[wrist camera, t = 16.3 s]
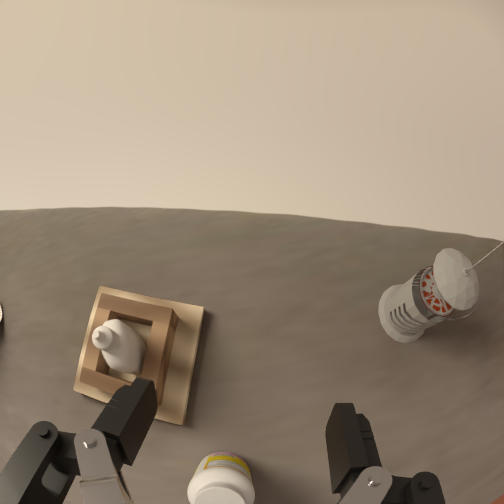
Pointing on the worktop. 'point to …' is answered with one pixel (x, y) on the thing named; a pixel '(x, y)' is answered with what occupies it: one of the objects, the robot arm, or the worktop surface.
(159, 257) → the worktop surface
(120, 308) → the birch holder
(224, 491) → the supplement bottle
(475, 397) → the worktop surface
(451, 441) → the worktop surface
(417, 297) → the french press
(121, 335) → the eye dropper bottle
